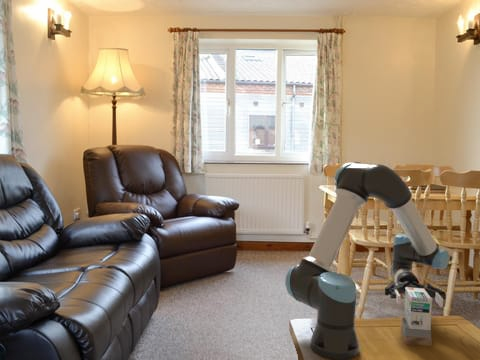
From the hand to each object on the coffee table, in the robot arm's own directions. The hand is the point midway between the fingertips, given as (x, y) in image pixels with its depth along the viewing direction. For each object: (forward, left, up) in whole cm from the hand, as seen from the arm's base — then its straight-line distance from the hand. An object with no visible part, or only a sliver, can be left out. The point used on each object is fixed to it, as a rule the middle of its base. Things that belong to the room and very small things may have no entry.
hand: (420, 301), depth 150 cm
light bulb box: (-1, +1, -8) cm, 8 cm away
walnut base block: (-1, +1, -14) cm, 14 cm away
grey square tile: (-1, +1, -11) cm, 11 cm away
